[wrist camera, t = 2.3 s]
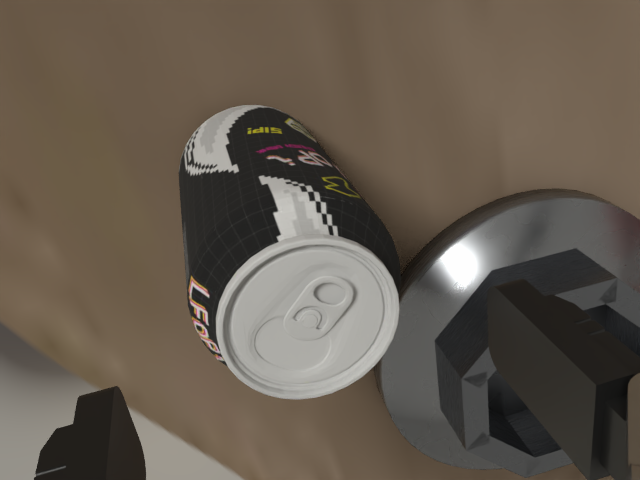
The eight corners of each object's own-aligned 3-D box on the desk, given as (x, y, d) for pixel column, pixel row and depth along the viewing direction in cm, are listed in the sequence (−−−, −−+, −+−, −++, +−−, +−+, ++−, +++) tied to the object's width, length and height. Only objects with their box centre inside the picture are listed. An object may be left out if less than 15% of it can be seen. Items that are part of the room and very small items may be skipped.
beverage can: (342, 140, 26) (468, 272, 15) (275, 253, 27) (348, 444, 17) (218, 73, 23) (265, 172, 13) (154, 199, 25) (147, 382, 14)
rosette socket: (668, 156, 30) (746, 187, 26) (640, 405, 37) (698, 460, 33) (354, 233, 28) (386, 280, 24) (390, 482, 35) (419, 550, 31)
